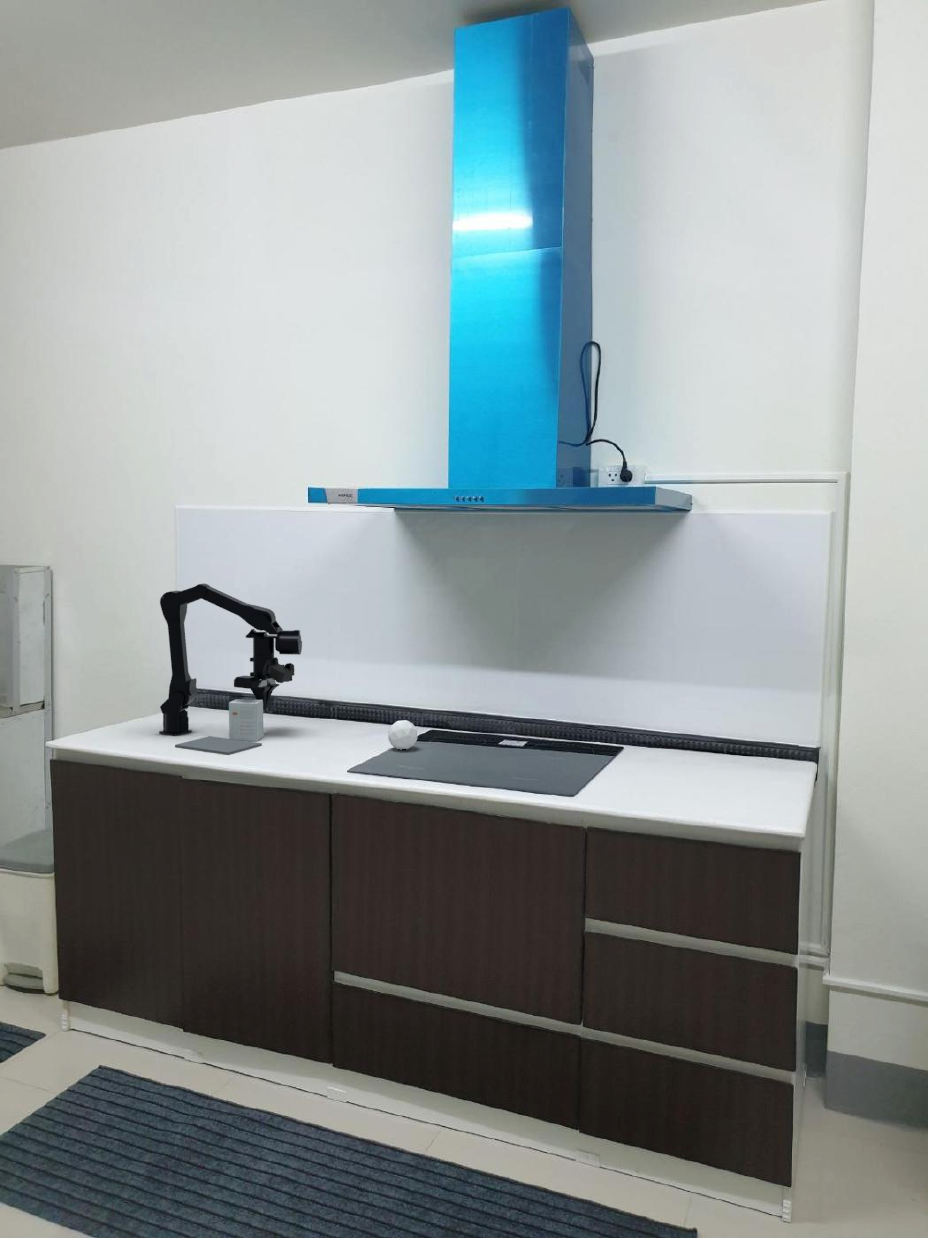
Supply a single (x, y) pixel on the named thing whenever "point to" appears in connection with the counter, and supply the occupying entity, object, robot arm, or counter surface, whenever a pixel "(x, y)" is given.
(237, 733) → the small box
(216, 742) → the mat
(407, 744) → the ball
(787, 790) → the counter surface
